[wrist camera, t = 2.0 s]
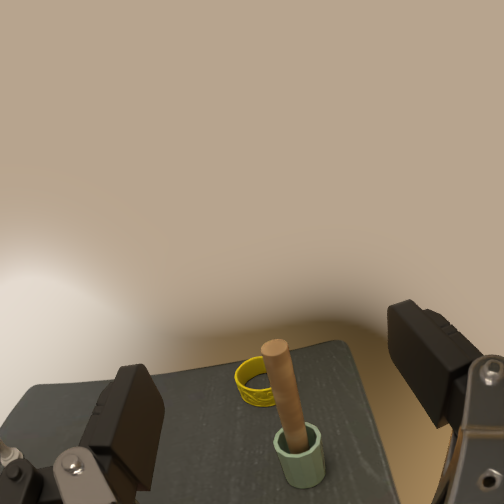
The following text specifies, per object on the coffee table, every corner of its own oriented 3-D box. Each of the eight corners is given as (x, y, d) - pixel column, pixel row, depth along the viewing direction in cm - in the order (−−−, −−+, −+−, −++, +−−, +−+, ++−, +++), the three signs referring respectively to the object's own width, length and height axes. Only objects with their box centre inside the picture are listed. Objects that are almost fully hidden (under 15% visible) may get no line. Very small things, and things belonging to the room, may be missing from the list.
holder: (281, 487, 27) (268, 455, 25) (290, 456, 31) (279, 421, 29) (322, 489, 26) (316, 458, 23) (328, 457, 30) (323, 422, 27)
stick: (294, 477, 28) (257, 355, 22) (297, 463, 29) (264, 339, 24) (312, 478, 27) (284, 355, 21) (315, 463, 29) (290, 338, 23)
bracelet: (283, 410, 39) (279, 394, 37) (231, 402, 42) (224, 386, 41) (300, 374, 45) (297, 357, 44) (252, 369, 48) (247, 353, 47)
